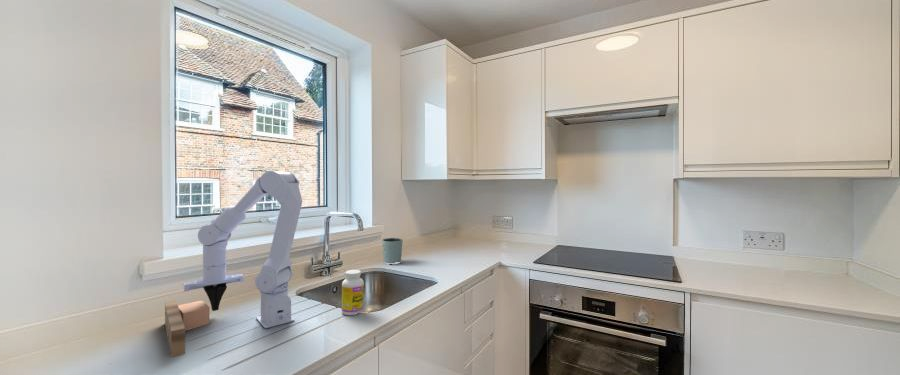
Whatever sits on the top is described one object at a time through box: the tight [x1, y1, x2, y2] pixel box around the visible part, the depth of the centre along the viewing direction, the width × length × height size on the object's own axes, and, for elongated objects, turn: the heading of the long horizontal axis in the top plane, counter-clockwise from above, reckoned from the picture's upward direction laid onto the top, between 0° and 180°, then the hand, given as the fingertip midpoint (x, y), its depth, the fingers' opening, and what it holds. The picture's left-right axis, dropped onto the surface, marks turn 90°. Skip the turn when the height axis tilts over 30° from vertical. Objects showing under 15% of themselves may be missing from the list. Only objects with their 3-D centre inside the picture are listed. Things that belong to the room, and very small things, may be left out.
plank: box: [164, 300, 186, 358], centre depth 87 cm, size 24×2×6 cm, turn 43°
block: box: [177, 299, 211, 331], centre depth 96 cm, size 8×6×5 cm
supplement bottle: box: [341, 269, 365, 316], centre depth 105 cm, size 7×7×13 cm
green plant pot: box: [381, 237, 404, 263], centre depth 168 cm, size 10×10×12 cm
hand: (214, 309), depth 100 cm, fingers closed
